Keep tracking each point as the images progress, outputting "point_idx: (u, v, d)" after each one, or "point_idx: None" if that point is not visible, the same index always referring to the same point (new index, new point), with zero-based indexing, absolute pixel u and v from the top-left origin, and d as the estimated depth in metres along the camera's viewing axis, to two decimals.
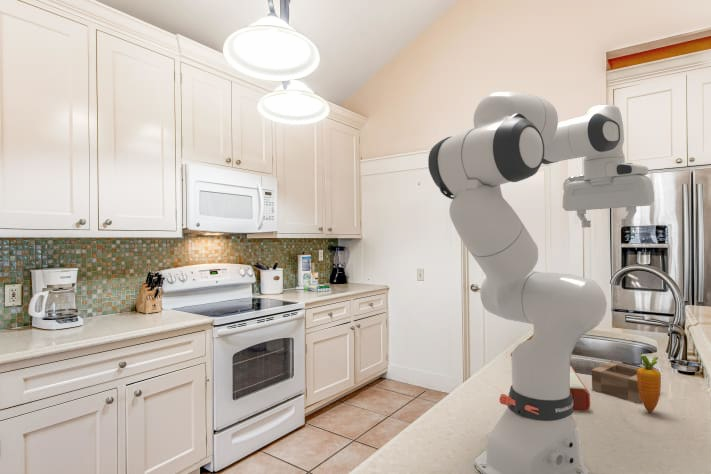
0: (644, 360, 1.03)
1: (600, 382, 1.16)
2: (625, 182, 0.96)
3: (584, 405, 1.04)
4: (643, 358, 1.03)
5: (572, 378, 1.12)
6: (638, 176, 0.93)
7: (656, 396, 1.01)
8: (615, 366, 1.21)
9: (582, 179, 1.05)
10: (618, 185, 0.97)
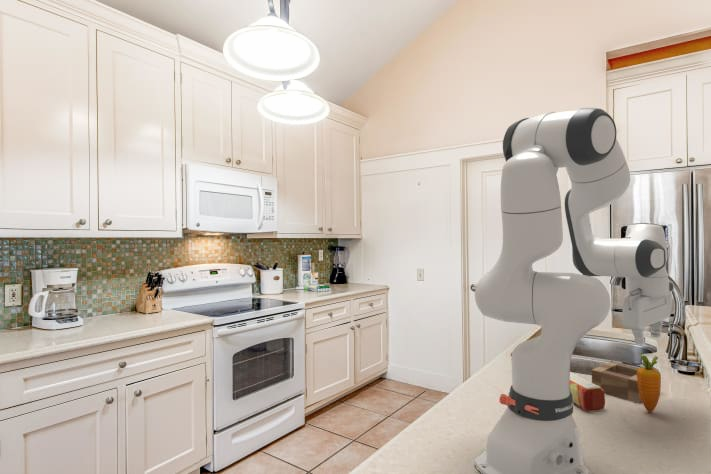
0: (644, 360, 1.03)
1: (600, 382, 1.16)
2: (664, 297, 1.04)
3: (601, 404, 1.05)
4: (643, 358, 1.03)
5: (578, 378, 1.12)
6: None
7: (656, 396, 1.01)
8: (615, 366, 1.21)
9: (639, 294, 0.99)
10: None
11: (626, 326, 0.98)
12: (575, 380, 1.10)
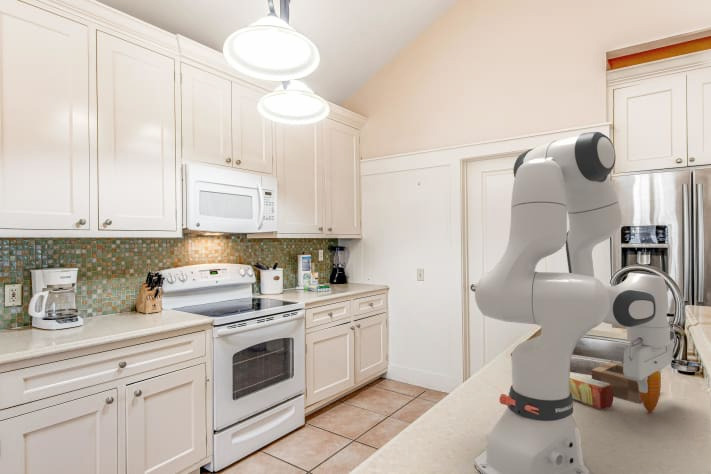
0: None
1: None
2: (665, 345, 1.04)
3: (611, 401, 1.07)
4: None
5: (582, 377, 1.12)
6: (671, 340, 1.05)
7: (656, 396, 1.01)
8: (615, 366, 1.21)
9: (640, 343, 1.00)
10: None
11: (627, 376, 0.98)
12: (582, 380, 1.10)
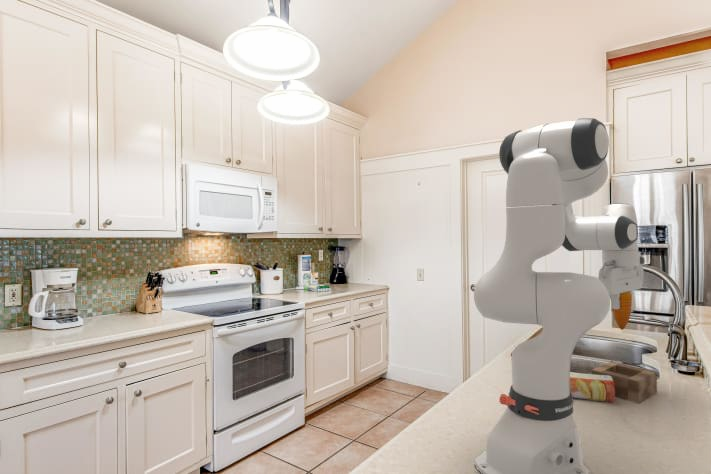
0: None
1: None
2: (636, 270, 1.18)
3: None
4: None
5: (583, 374, 1.14)
6: (642, 266, 1.19)
7: (627, 313, 1.15)
8: (615, 366, 1.21)
9: (613, 265, 1.13)
10: (632, 272, 1.17)
11: None
12: (588, 377, 1.12)
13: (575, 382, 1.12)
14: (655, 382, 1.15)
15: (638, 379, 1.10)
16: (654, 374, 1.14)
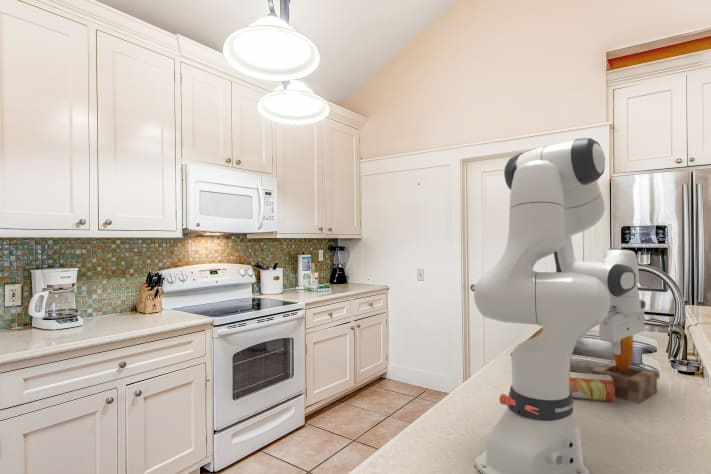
0: None
1: None
2: (637, 314, 1.18)
3: None
4: None
5: (583, 374, 1.14)
6: None
7: (628, 358, 1.15)
8: (615, 366, 1.21)
9: (614, 311, 1.13)
10: (633, 316, 1.18)
11: (602, 339, 1.12)
12: (588, 377, 1.12)
13: (576, 382, 1.12)
14: (655, 382, 1.15)
15: (638, 379, 1.10)
16: (654, 374, 1.14)
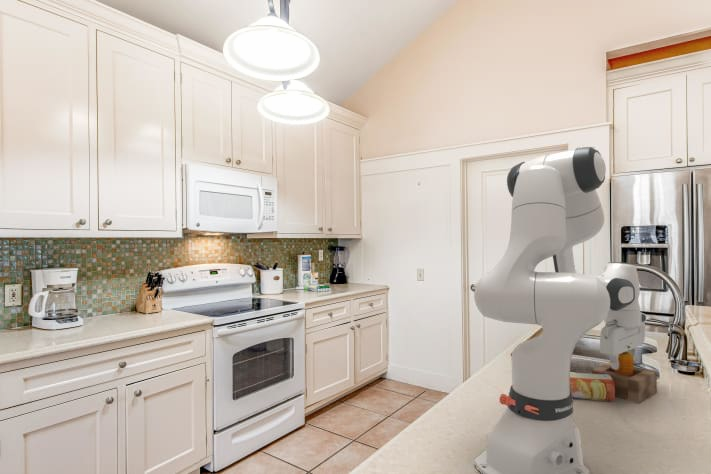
0: None
1: None
2: (638, 327, 1.18)
3: None
4: None
5: (583, 374, 1.14)
6: None
7: None
8: None
9: (615, 324, 1.13)
10: None
11: (603, 353, 1.12)
12: (588, 376, 1.12)
13: (576, 382, 1.12)
14: (655, 382, 1.15)
15: (638, 379, 1.10)
16: (654, 374, 1.14)
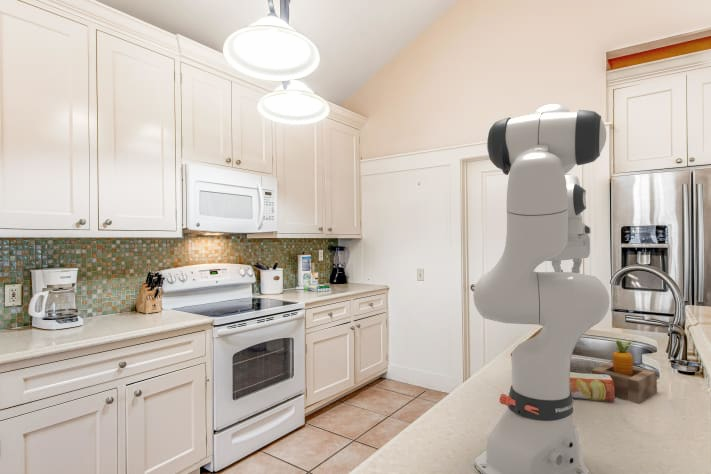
0: (618, 345, 1.17)
1: None
2: (582, 239, 1.24)
3: None
4: (617, 343, 1.17)
5: (583, 374, 1.14)
6: (588, 236, 1.25)
7: None
8: None
9: None
10: (578, 241, 1.23)
11: None
12: (588, 377, 1.12)
13: (576, 382, 1.12)
14: (655, 382, 1.15)
15: (638, 379, 1.10)
16: (654, 374, 1.14)
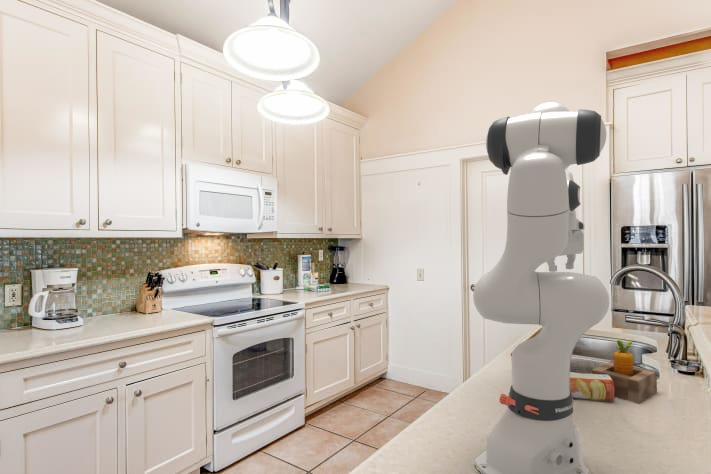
0: (619, 344, 1.17)
1: None
2: (576, 235, 1.24)
3: None
4: (618, 343, 1.17)
5: (582, 374, 1.14)
6: (582, 232, 1.25)
7: None
8: None
9: None
10: (572, 237, 1.24)
11: None
12: (588, 377, 1.12)
13: (575, 382, 1.12)
14: (655, 382, 1.15)
15: (638, 379, 1.10)
16: (654, 374, 1.14)
